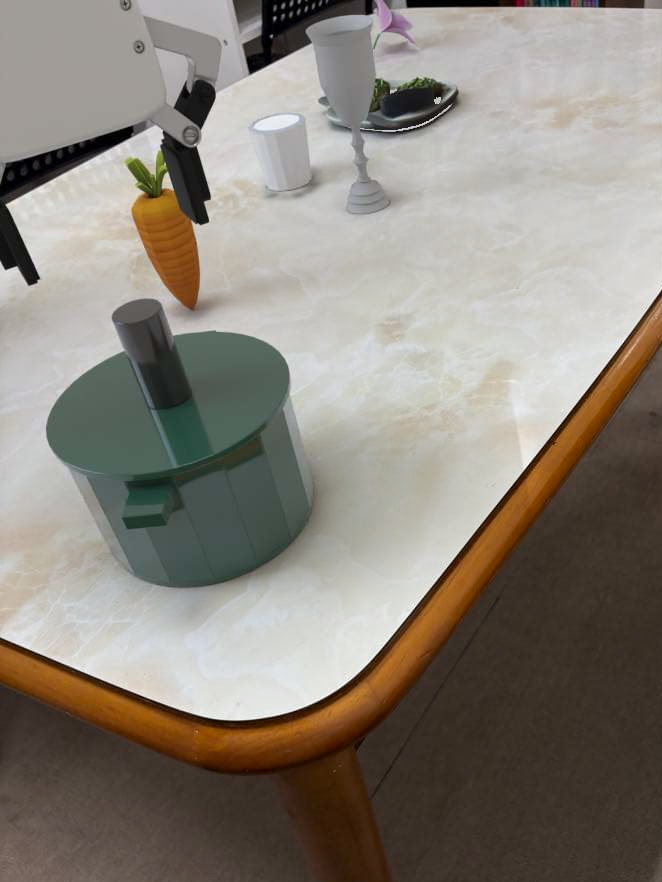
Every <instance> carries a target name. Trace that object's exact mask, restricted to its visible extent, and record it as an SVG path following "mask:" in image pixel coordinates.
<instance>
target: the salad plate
mask: <svg viewBox="0 0 662 882" xmlns="http://www.w3.org/2000/svg"><path fill="white" fill-rule="evenodd" d="M395 89H397V91H395V92H394V93H391V94H390V90H395ZM459 93H460V92H459V89H458V87H457V84H456V83H453V82H452V81H447V80H435V79H434V78H429V77H426V76H425V77H424V76H422V77H421V78H419V77H418V76H416V77H414V78H413V79H412V80H403V79H385V80H384V79H383V77H378V78H375V85H374V92H373V97H372V101H371V104H370V108H369V112H368V116H367V119H366V120H365V121H363V122H362V123H360V128H364V129H374V130H398V129H402V128H408V127H411V126H416V125H419V124H422V123H424V122H426V121H429V120H430V119H432V118H434V117H435V116H437V115H438V114H439V113H441V112H442V111H443V110H444V109H446V108H447V107H448V106H449V105H451V104H452V103H453V102H455V101H456V99H457V98H458V96H459ZM436 97H437V98H438V97H441V101H440V103H439V104H435V102H434V99H436ZM454 100H455V101H454ZM317 102H318V104H320V105H321V106H323V107H325V108H326V110H325V114H324V115H325V117H326V119H328V121H329V122H330V123H332V124H335V125H337V126H340V127H342V126H343V128H345V127H350V125H347V124H343V123H342V122H341V120H340V119H339V117H338V116H337V114H336V113H335V111H334V109H333V108H332V106H331V105H330V103H329V102H328V100H327V97H326V95H325V96H321V97H320V98H318V99H317ZM453 104H454V103H453ZM453 104H452V105H453ZM451 108H452V106H451V107H450V108H449V109H448V110H447V111H446V112H444V113H443V114H442V115H440V116H439V117H437V118H436V119H434V120H433V121H431V122H429V123H427V124H425V125H423V126H420V127H417V128H413V129H409V130H403V131H396V132H386V133H387V134H388V133H389V134H390V133H391V134H392V133H393V134H394V133H395V134H396V133H404V132H409V131H413V130H417V129H420V128H422V127H423V128H424V127H426V126H427V125H429V124H431V123H433V122H434V121H436V120H438V119H439V118H441V117H442V116H444V115H445V114H446V113H447V112H448V111H450V109H451ZM347 129H348V130H351V127H350V128H347ZM360 131H363V130H362V129H360ZM366 131H367V132H372V131H371V130H365V132H366ZM373 132H375V133H383V132H382V131H373Z"/></svg>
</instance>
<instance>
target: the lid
mask: <svg viewBox="0 0 662 882" xmlns="http://www.w3.org/2000/svg"><path fill="white" fill-rule="evenodd" d="M111 321H112V323H113V326H114V328H115V331H116V334H117V337H118V339H119V341H120V344H121V346H122V349H123V351H121V352H118V353H116V354H114V355H112V356H110V357H108V358H106V359H105V360H102V361H101V362H99V363H97V364H96V365H94V366H92V367H91V368H89V369H88V370H86V371H85V372H84V373H83V374H81V375H80V376H79V377H78V378H77V379H75V380H74V381H72V383H71V384H69V386H67V387H66V389H65V390H64V391H63V392H62V393H61V394H60V396H59V397H58V398H57V399H56V401H55V402H54V404H53V406H52V408H51V409H50V412H49V414H48V416H47V420H46V425H45V437H46V440H47V444H48V446H49V448H50V450H51V452H52V453H53V455H54V457H55V458H56V459H57V460H58V461H59V462H60V463H61V464H62V465H63V466H64V467H66V468H67V469H68V468H70V469H71V470H73V471H75V472H77V473H80V474H82V475H85V476H89V477H93V478H96V479H103V480H111V481H139V480H149V479H156V478H163V477H167V476H172V475H176V474H180V473H184V472H187V471H190V470H193V469H197V468H199V467H202V466H205V465H207V464H210V463H212V462H215V461H217V460H219V459H221V458H223V457H225V456H227V455H229V454H231V453H233V452H234V451H236V450H238V449H239V448H241V447H243V446H244V445H246V444H247V443H249V442H250V441H251V440H253V439H254V438H256V437H257V436H258V435H259V434H260V433H262V432H263V431H264V430H265V429H266V428H267V427H268V426H269V425H270V424H271V423H272V422H273V421H274V420H275V419H276V418H277V416H278V415H279V413H280V412H281V410H282V409H283V408H284V406H285V403H286V401H287V399H288V397H289V393H291V390H292V389H291V388H292V377H291V372H290V367H289V364H288V362H287V361H286V358H285V357H284V356H283V354H282V353H281V352H280V351H279V350H278V349H277V348H275V347H274V346H273V345H271V344H270V343H268V342H267V341H265V340H262V339H260V338H258V337H255V336H251V335H248V334H243V333H238V332H231V331H216V332H205V331H196V332H195V331H194V332H187V333H186V332H185V333H180V334H175V335H174V334H173V332H172V329H171V327H170V324H169V321H168V317H167V316H166V312H165V310H164V307H163V304H162V303H161V301H160V300H159V299H156V298H150V297H149V298H138V299H134V300H132V301H131V300H130V301H128V302H126V303H124V304H123V303H122V304H121V305H120V306H118V307H116V308H115V310H114V311H113V312H112V314H111Z"/></svg>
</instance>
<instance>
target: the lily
mask: <svg viewBox="0 0 662 882" xmlns="http://www.w3.org/2000/svg"><path fill="white" fill-rule="evenodd" d="M374 1H375V4H376V6H377V7H376V8H374V9H373V13H374V15H376V16H378V25H379V31H378V33H377V36H376V38H375V40H374V43H373V45H372V48H373V49H374V50H375V49H376V45H377V43H378V40H379V38H380V36H381V34H383V33H390V34H391V33H392V34H397V35H400V36H401V35H402V36H404V37H405V38H407V39H408V41H409V42H410V43H411V44H412V43H413V44H416V42H415V41H414V40H413V38H412V37H411V36H410V35H409V33H407V32H408V31H410V30H412V29H413V28H414V25H413V24H412V22H411V21H410V20H409V19H408V18H406V17H405V15H403V14H402V13H400V12H399V11H396V9H394V10H390V8H389V7H388V5H387V4H386V3H385V1H384V0H374ZM402 36H401V37H402ZM413 44H412V45H413ZM417 50H419V51H420V48H419V49H417Z"/></svg>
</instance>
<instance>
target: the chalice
mask: <svg viewBox="0 0 662 882" xmlns="http://www.w3.org/2000/svg"><path fill="white" fill-rule="evenodd" d="M373 26H374V17H372V16H370V15H365V14H350V15H340V16H335V17H331V18H327V19H324V20H321V21H318V22H315V23H313V24H311V25H310V26H308V27H307V28H306V29H305V34H306V35H307V37H308V38H309V40H310V42H311V43H312V46H313V52H314V56H315V57H314V58H315V63H316V68H317V74H318V80H319V85H320V87H321V90H322V91H323V94H324V95H325V96H326V97H327V100H328V102H329V103H330V105H331V106H332V108H333V109H334V111H335V113H336V114H337V116H338V117H339V119H340V120H341V122H342V123H343V124H347V125H350V127H351V129H350V130H351V133H352V135H351V142H350V146H352V148H353V150H354V152H355V156H354V159H353V160H352V163H353V164H354V165H355V167H356V168H357V171H358V178H356V181H354V182H353V183H352V184H351V185H350V188H349V189H348V196H347V202H346V205H345V210H346V211H347V212H349V213H351V214H355V215H356V214H357V215H365V214H366V215H367V214H371V213H376V212H379V211H381V210H383V209H385V208H386V207H387V206H388V205H389V204H390V198H389V197H388V196H387V195H386V192H385V190H384V188H382V184H381V183H380V182H379V181H377V180H376V179H373V178H372V177H371V176H369V174H368V171H367V163H368V162H369V158H368V157H367V156H366V154H365V152H364V147H365V143H366V141H365V139H364V138H363V136H362V133H361V132H362V131H361V130H360V123H362V122H363V121H365V120H366V119H367V116H368V112H369V108H370V104H371V101H372V97H373V92H374V85H375V78H376V76H377V71H376V65H375V57H374V56H375V55H374V53H373V41H372V35H371V33H372V28H373Z"/></svg>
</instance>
